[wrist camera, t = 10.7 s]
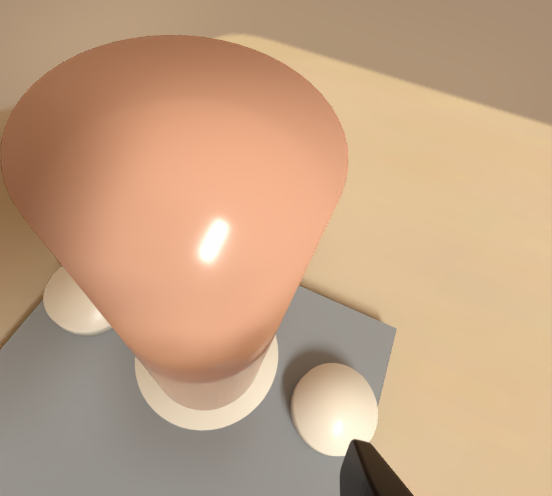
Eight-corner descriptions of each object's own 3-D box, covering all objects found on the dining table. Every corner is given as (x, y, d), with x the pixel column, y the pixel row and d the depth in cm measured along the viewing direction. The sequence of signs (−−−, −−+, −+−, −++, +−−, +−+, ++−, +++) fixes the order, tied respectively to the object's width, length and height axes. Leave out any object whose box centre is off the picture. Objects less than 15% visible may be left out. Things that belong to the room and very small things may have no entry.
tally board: (295, 706, 12) (308, 747, 10) (-99, 489, 13) (-145, 494, 12) (388, 334, 19) (405, 322, 18) (125, 216, 21) (116, 195, 19)
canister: (200, 437, 15) (148, 372, 4) (130, 350, 16) (-68, 104, 5) (282, 355, 17) (408, 154, 6) (214, 284, 18) (209, 8, 7)
